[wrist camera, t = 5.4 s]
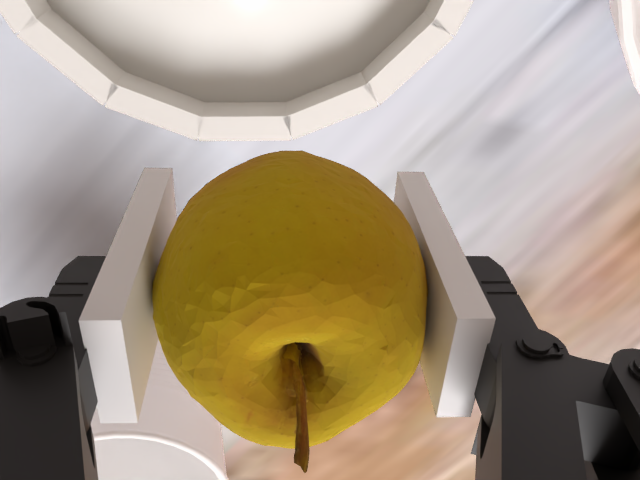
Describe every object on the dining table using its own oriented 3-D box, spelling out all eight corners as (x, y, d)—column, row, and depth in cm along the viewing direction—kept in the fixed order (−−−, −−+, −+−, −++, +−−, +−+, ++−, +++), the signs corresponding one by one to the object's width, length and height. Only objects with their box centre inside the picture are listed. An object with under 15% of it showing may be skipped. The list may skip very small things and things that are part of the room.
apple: (286, 328, 20) (290, 563, 13) (133, 206, 17) (39, 424, 10) (440, 212, 18) (538, 421, 11) (294, 54, 15) (306, 203, 8)
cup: (105, 270, 36) (44, 413, 26) (263, 313, 38) (259, 458, 29) (74, 384, 40) (13, 540, 31) (217, 416, 43) (200, 570, 33)
